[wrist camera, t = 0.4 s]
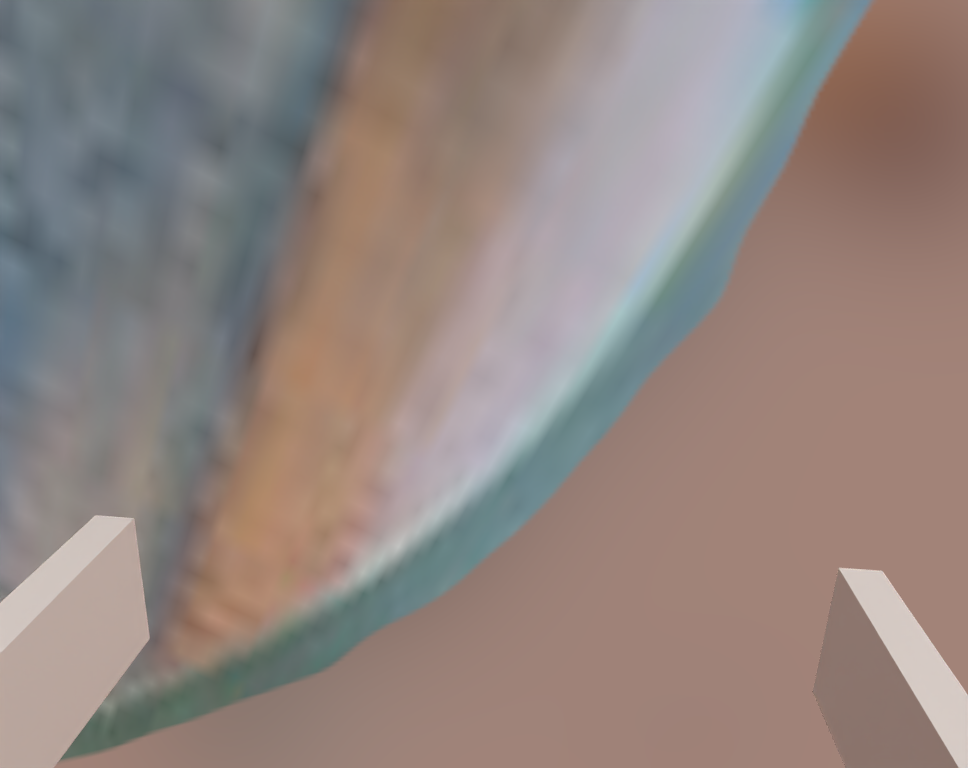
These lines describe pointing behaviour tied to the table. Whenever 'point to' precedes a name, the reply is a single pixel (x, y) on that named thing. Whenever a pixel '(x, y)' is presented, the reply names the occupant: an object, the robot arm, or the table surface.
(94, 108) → the table surface
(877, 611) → the robot arm
